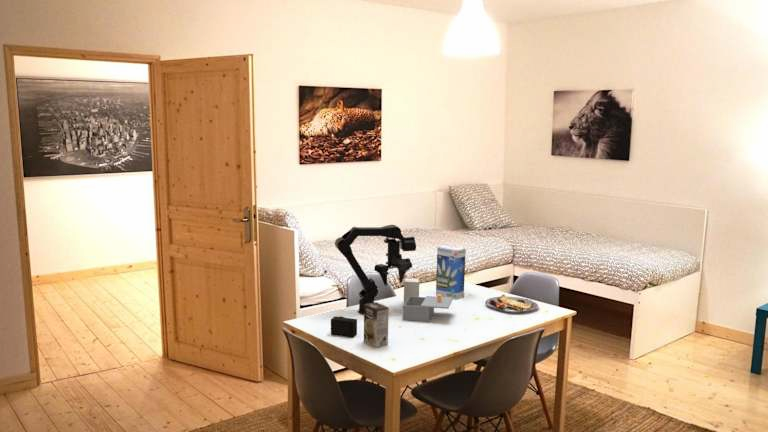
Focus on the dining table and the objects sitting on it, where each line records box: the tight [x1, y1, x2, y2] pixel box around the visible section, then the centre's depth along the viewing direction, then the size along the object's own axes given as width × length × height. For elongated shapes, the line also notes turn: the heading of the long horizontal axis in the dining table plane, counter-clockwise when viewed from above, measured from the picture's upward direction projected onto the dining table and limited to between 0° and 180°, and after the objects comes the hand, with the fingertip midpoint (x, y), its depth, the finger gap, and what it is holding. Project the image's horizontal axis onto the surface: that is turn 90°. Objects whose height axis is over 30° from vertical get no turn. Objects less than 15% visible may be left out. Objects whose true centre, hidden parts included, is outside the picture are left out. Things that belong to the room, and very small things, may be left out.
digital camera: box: [330, 316, 358, 338], centre depth 274 cm, size 10×5×7 cm, turn 70°
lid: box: [421, 294, 454, 310], centre depth 297 cm, size 12×16×4 cm
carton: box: [402, 296, 435, 323], centre depth 300 cm, size 12×16×7 cm
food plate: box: [485, 294, 539, 313], centre depth 317 cm, size 25×23×4 cm
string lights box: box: [435, 244, 467, 300], centre depth 334 cm, size 13×8×26 cm, turn 50°
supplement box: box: [403, 278, 420, 304], centre depth 318 cm, size 7×7×13 cm
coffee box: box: [363, 301, 390, 349], centre depth 262 cm, size 9×6×16 cm
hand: (393, 284), depth 307 cm, fingers open, 9 cm apart
